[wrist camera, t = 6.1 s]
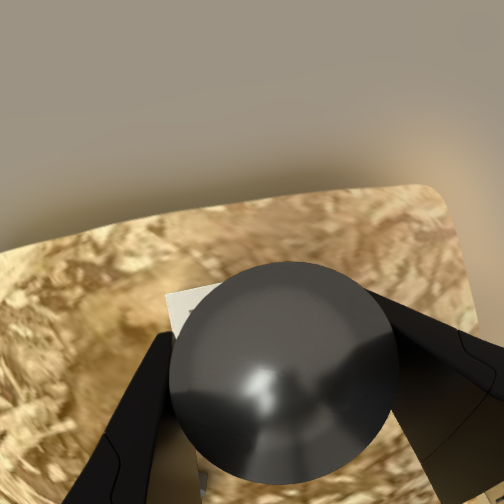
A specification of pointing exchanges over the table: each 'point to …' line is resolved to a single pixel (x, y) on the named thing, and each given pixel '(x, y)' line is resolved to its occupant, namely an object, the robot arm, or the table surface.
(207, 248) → the table surface
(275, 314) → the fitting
